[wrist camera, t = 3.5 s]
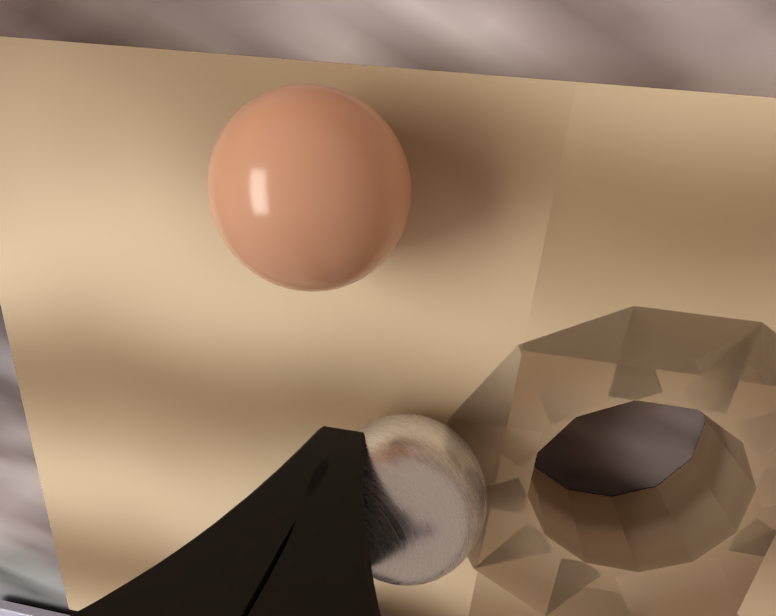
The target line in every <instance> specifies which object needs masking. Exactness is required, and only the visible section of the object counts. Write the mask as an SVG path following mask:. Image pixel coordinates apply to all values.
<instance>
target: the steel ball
mask: <svg viewBox="0 0 776 616" xmlns="http://www.w3.org/2000/svg"><path fill="white" fill-rule="evenodd" d="M358 432H363V433H364V435H365V442H366V448H367V453H366V461H365V470H364V505H365V521H366V531H367V540H368V547H369V555H370V562H371V568H372V574H373V578H375V579H377V580H379V581H382V582H386V583H389V584H393V585H402V586H413V585H421V584H425V583H429V582H432V581H435V580H437V579H439V578H441V577H443V576H445V575H447V574H449V573H450V572H451V571H453V570H454V569H456V568H457V567H458V566H459V565H460V564H461V563H462V562H463V561H464V560H465V559H466V558H467V557H468V555H469V554H470V552H471V551H472V549H473V548H474V546H475V545H476V543H477V541H478V539H479V537H480V534H481V532H482V529H483V525H484V522H485V517H486V509H487V493H486V485H485V480H484V476H483V473H482V470H481V467H480V465H479V462H478V460H477V458H476V456H475V455H474V453H473V451H472V450H471V449H470V447H469V446H468V444H467V443H466V442H465V441H464V440H463V439H462V438H461V437H460V436H459V435H458V434H457V433H456V432H455V431H453V430H452V429H451V428H449V427H448V426H446V425H445V424H443V423H441V422H439V421H437V420H434V419H432V418H429V417H426V416H422V415H416V414H394V415H389V416H385V417H381V418H379V419H376V420H374V421H372V422H370V423H368V424H366V425H365V426H363V427H362V428H360V429H359V430H358Z"/></svg>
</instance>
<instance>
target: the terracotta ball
mask: <svg viewBox="0 0 776 616" xmlns="http://www.w3.org/2000/svg"><path fill="white" fill-rule="evenodd" d="M207 195H208V203H209V208H210V212H211V216H212V218H213V221H214V224H215V227H216V229H217V231H218V233H219V235H220V237H221V238H222V240H223V242H224V243H225V245H226V246H227V248H228V249H229V250H230V251H231V253H232V254H233V255H234V256H235V258H237V259H238V260H239V261H240V262H241V263H242V264H243V265H244V266H245V267H246V268H247V269H249V270H250V271H251V272H253V273H254V274H256V275H257V276H259V277H261V278H262V279H264V280H266V281H268V282H271V283H273V284H275V285H277V286H281V287H284V288H287V289H291V290H296V291H305V292H318V291H329V290H334V289H339V288H342V287H345V286H348V285H350V284H352V283H355V282H357V281H359V280H361V279H363V278H364V277H366V276H367V275H369V274H370V273H372V272H373V271H374V270H375V269H377V268H378V267H379V266H380V265H381V264H382V263H383V262H384V261H385V260H386V259H387V257H388V256H389V255H390V254H391V253H392V251H393V250H394V249H395V247H396V245H397V244H398V242H399V241H400V238H401V236H402V234H403V232H404V230H405V227H406V223H407V220H408V217H409V213H410V207H411V198H412V184H411V174H410V170H409V166H408V161H407V158H406V156H405V153H404V150H403V148H402V146H401V144H400V142H399V140H398V138H397V136H396V135H395V133H394V132H393V130H392V129H391V127H390V126H389V125H388V123H387V122H386V121H385V120H384V119H383V118H382V117H381V116H380V114H378V113H377V112H376V111H375V110H374V109H373V108H371V107H370V106H369V105H368V104H366V103H365V102H363V101H362V100H360V99H358V98H357V97H355V96H353V95H350V94H348V93H346V92H344V91H342V90H339V89H335V88H332V87H329V86H323V85H317V84H297V85H289V86H283V87H280V88H276V89H273V90H270V91H268V92H266V93H264V94H262V95H259V96H258V97H256V98H254V99H253V100H251V101H250V102H248V103H247V104H245V105H244V106H243V107H242V108H241V109H240V110H238V111H237V112H236V113H235V114H234V115H233V117H232V118H231V119H230V120H229V122H228V123H227V124H226V125H225V127H224V128H223V130H222V132H221V133H220V135H219V137H218V138H217V141H216V143H215V145H214V148H213V150H212V154H211V158H210V161H209V167H208V175H207Z"/></svg>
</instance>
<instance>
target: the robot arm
mask: <svg viewBox="0 0 776 616" xmlns="http://www.w3.org/2000/svg"><path fill="white" fill-rule="evenodd" d="M366 453H367V448H366V442H365V435H364V433H363V432H358V431H352V430H346V429H339V428H333V427H327V426H323V427H321V428H320V429H319V430H317V431H316V432H315V433H314V435H313V436H312V437H311V438H310V439H309V440H308V441H307V442H306V443H305V444H304V445H303V446H302V447H301V448H300V449H299V450H298V451H297V452H296V453H295V454H293V455H292V456H291V457H290V458H289V459H288V460H287V461H286V462H285V463H284V464H283V465H282V466H281V467H280V468H279V469H278V470H277V471H275V472H274V473H273V474H272V475H271V476H270V477H269V478H268V479H267V480H265V481H264V482H263V483H262V484H261V485H260V486H259V487H258V488H257V489H255V490H254V491H253V492H252V493H251V494H250V495H248V496H247V497H246V498H245V499H244V500H242V501H241V502H240V503H239V504H237V505H236V506H235V507H234V508H232V509H231V510H230V511H229V512H228V513H226V514H225V515H224V516H223V517H221V518H220V519H219V520H218V521H216V522H215V523H214V524H213V525H211V526H210V527H209V528H207V529H206V530H205V531H203V532H202V533H201V534H199V535H198V536H197V537H195V538H194V539H192V540H191V541H190V542H188V543H187V544H185V545H184V546H183V547H181V548H180V549H178V550H177V551H175V552H174V553H172V554H171V555H170V556H168V557H167V558H165V559H164V560H162V561H161V562H159V563H158V564H156V565H154V566H153V567H151V568H150V569H148V570H147V571H145V572H143V573H142V574H140V575H139V576H137V577H135V578H134V579H132V580H131V581H129V582H127V583H126V584H124V585H123V586H121V587H119V588H118V589H116V590H114V591H113V592H111V593H109V594H108V595H106V596H104V597H103V598H101V599H99V600H97V601H96V602H94V603H92V604H90V605H89V606H87V607H85V608H83V609H81V610H79V611H77V612H76V613H74V614H72V615H68V614H63V613H59V612H54V611H50V610H45V609H41V608H36V607H32V606H27V605H23V604H18V603H14V602H9V601H5V600H0V616H381V614H380V610H379V605H378V600H377V595H376V590H375V585H374V580H373V574H372V568H371V562H370V555H369V547H368V540H367V531H366V521H365V505H364V470H365V461H366Z"/></svg>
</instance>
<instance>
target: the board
mask: <svg viewBox="0 0 776 616" xmlns="http://www.w3.org/2000/svg"><path fill="white" fill-rule="evenodd" d="M297 84H317V85H323V86H329V87H332V88H335V89H339V90H342V91H344V92H346V93H348V94H350V95H353V96H355V97H357V98H358V99H360V100H362V101H363V102H365V103H366V104H368V105H369V106H370V107H371V108H373V109H374V110H375V111H376V112H377V113H378V114H380V116H381V117H382V118H383V119H384V120H385V121H386V122H387V123H388V125H389V126H390V127H391V129H392V130H393V132H394V133H395V135H396V136H397V138H398V140H399V142H400V144H401V146H402V148H403V150H404V153H405V156H406V158H407V161H408V166H409V170H410V174H411V184H412V198H411V207H410V213H409V217H408V220H407V223H406V227H405V230H404V232H403V234H402V236H401V238H400V241H399V242H398V244H397V245H396V247H395V249H394V250H393V251H392V253H391V254H390V255H389V256H388V257H387V259H386V260H385V261H384V262H383V263H382V264H381V265H380V266H379V267H378V268H377V269H375V270H374V271H373V272H372V273H370V274H369V275H367V276H366V277H364V278H363V279H361V280H359V281H357V282H355V283H352V284H350V285H348V286H345V287H342V288H339V289H334V290H329V291H318V292H305V291H296V290H291V289H287V288H284V287H281V286H277V285H275V284H273V283H271V282H268V281H266V280H264V279H262V278H261V277H259V276H257V275H256V274H254V273H253V272H251V271H250V270H249V269H247V268H246V267H245V266H244V265H243V264H242V263H241V262H240V261H239V260H238V259H237V258H235V256H234V255H233V254H232V253H231V251H230V250H229V249H228V248H227V246H226V245H225V243H224V242H223V240H222V238H221V237H220V235H219V233H218V231H217V229H216V227H215V224H214V221H213V218H212V216H211V212H210V208H209V203H208V195H207V175H208V167H209V161H210V158H211V154H212V150H213V148H214V145H215V143H216V141H217V138H218V137H219V135H220V133H221V132H222V130H223V128H224V127H225V125H226V124H227V123H228V122H229V120H230V119H231V118H232V117H233V115H234V114H235V113H236V112H237V111H238V110H240V109H241V108H242V107H243V106H244V105H245V104H247V103H248V102H250V101H251V100H253V99H254V98H256V97H258V96H259V95H262V94H264V93H266V92H268V91H270V90H273V89H276V88H280V87H283V86H289V85H297ZM0 304H1V308H2V313H3V317H4V322H5V326H6V331H7V335H8V340H9V344H10V348H11V353H12V357H13V362H14V366H15V371H16V375H17V380H18V384H19V388H20V393H21V397H22V402H23V406H24V411H25V415H26V420H27V424H28V428H29V433H30V437H31V442H32V446H33V451H34V455H35V460H36V464H37V468H38V473H39V477H40V482H41V486H42V491H43V495H44V500H45V504H46V508H47V513H48V517H49V522H50V526H51V531H52V535H53V540H54V544H55V548H56V553H57V557H58V562H59V566H60V571H61V575H62V580H63V584H64V588H65V593H66V597H67V602H68V606H69V609H70V610H75V611H79V610H81V609H83V608H85V607H87V606H89V605H90V604H92V603H94V602H96V601H97V600H99V599H101V598H103V597H104V596H106V595H108V594H109V593H111V592H113V591H114V590H116V589H118V588H119V587H121V586H123V585H124V584H126V583H127V582H129V581H131V580H132V579H134V578H135V577H137V576H139V575H140V574H142V573H143V572H145V571H147V570H148V569H150V568H151V567H153V566H154V565H156V564H158V563H159V562H161V561H162V560H164V559H165V558H167V557H168V556H170V555H171V554H172V553H174V552H175V551H177V550H178V549H180V548H181V547H183V546H184V545H185V544H187V543H188V542H190V541H191V540H192V539H194V538H195V537H197V536H198V535H199V534H201V533H202V532H203V531H205V530H206V529H207V528H209V527H210V526H211V525H213V524H214V523H215V522H216V521H218V520H219V519H220V518H221V517H223V516H224V515H225V514H226V513H228V512H229V511H230V510H231V509H232V508H234V507H235V506H236V505H237V504H239V503H240V502H241V501H242V500H244V499H245V498H246V497H247V496H248V495H250V494H251V493H252V492H253V491H254V490H255V489H257V488H258V487H259V486H260V485H261V484H262V483H263V482H264V481H265V480H267V479H268V478H269V477H270V476H271V475H272V474H273V473H274V472H275V471H277V470H278V469H279V468H280V467H281V466H282V465H283V464H284V463H285V462H286V461H287V460H288V459H289V458H290V457H291V456H292V455H293V454H295V453H296V452H297V451H298V450H299V449H300V448H301V447H302V446H303V445H304V444H305V443H306V442H307V441H308V440H309V439H310V438H311V437H312V436H313V435H314V433H315V432H316V431H317V430H319V429H320V428H321V427H323V426H327V427H333V428H339V429H346V430H352V431H358V430H359V429H360V428H362V427H363V426H365V425H366V424H368V423H370V422H372V421H374V420H376V419H379V418H381V417H385V416H389V415H394V414H416V415H422V416H426V417H429V418H432V419H434V420H437V421H439V422H441V423H443V424H445V425H446V426H448V427H449V428H451V429H452V430H453V431H455V432H456V433H457V434H458V435H459V436H460V437H461V438H462V439H463V440H464V441H465V442H466V443H467V444H468V446H469V447H470V449H471V450H472V451H473V453H474V455H475V456H476V458H477V460H478V462H479V465H480V467H481V470H482V473H483V476H484V480H485V485H486V493H487V509H486V517H485V522H484V525H483V529H482V532H481V534H480V537H479V539H478V541H477V543H476V545H475V546H474V548H473V549H472V551H471V552H470V554H469V555H468V557H467V558H466V559H465V560H464V561H463V562H462V563H461V564H460V565H459V566H458V567H457V568H456V569H454V570H453V571H451V572H450V573H449V574H447V575H445V576H443V577H441V578H439V579H437V580H435V581H432V582H429V583H425V584H421V585H413V586H402V585H393V584H389V583H386V582H382V581H379V580H377V579H375V578H373V580H374V585H375V590H376V595H377V600H378V605H379V610H380V614H381V616H776V98H771V97H759V96H746V95H733V94H721V93H708V92H696V91H683V90H670V89H658V88H645V87H632V86H620V85H607V84H595V83H582V82H569V81H557V80H544V79H532V78H519V77H506V76H494V75H481V74H468V73H456V72H443V71H431V70H418V69H405V68H393V67H380V66H367V65H355V64H342V63H330V62H317V61H304V60H292V59H279V58H267V57H254V56H241V55H229V54H216V53H203V52H191V51H178V50H166V49H153V48H140V47H128V46H115V45H103V44H90V43H77V42H65V41H52V40H39V39H27V38H14V37H2V36H0ZM634 400H637V401H644V402H651V403H657V404H664V405H671V406H678V407H684V408H691V409H698V410H699V411H701V412H702V413H703V414H704V416H705V419H706V422H705V425H704V427H703V430H702V433H701V435H700V438H699V441H698V443H697V446H696V449H695V451H694V454H693V456H692V459H691V460H690V461H688V462H687V463H686V464H685V465H683V466H682V467H681V468H680V469H678V470H677V471H676V472H674V473H673V474H672V475H671V476H669V477H668V478H667V479H665V480H664V481H663V482H662V483H660V484H659V485H658V486H656V487H652V488H648V489H644V490H639V491H635V492H631V493H626V494H622V495H618V496H614V497H608V496H602V495H597V494H591V493H585V492H579V491H573V490H567V489H566V488H564V487H563V486H561V485H560V484H559V483H557V482H556V481H554V480H553V479H551V478H550V477H548V476H547V475H546V474H544V473H543V472H541V471H540V470H538V469H537V468H536V467H534V464H535V460H536V456H537V453H538V452H539V451H540V450H541V449H542V448H543V447H544V446H545V445H546V444H547V443H548V442H549V441H551V440H552V439H553V438H554V437H555V436H556V435H557V434H558V433H559V432H560V431H561V430H562V429H564V428H565V427H566V426H567V425H568V424H569V423H570V422H571V421H572V420H573V419H574V418H575V417H578V416H581V415H585V414H588V413H592V412H596V411H599V410H603V409H606V408H610V407H613V406H617V405H620V404H624V403H627V402H631V401H634Z"/></svg>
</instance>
